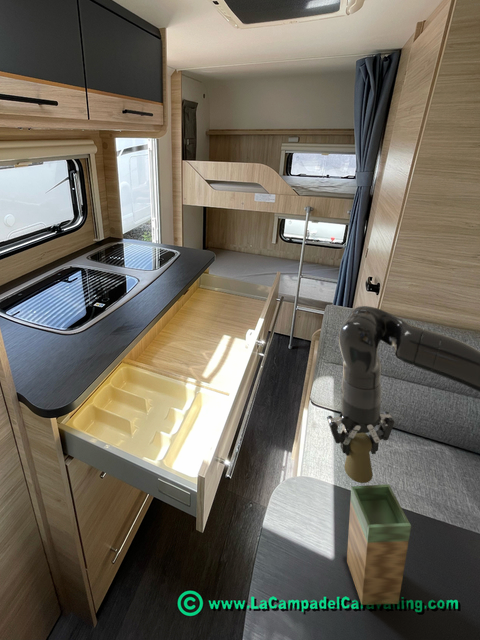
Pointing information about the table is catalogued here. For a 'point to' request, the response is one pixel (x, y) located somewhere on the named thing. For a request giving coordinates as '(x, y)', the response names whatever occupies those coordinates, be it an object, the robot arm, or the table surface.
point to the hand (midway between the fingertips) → (359, 451)
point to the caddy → (377, 543)
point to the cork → (359, 459)
